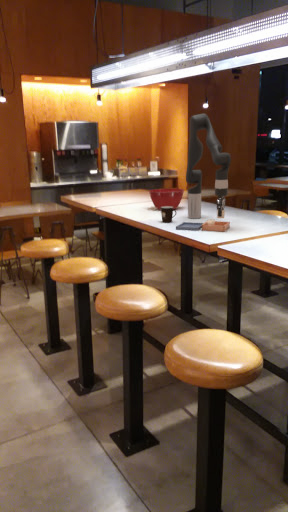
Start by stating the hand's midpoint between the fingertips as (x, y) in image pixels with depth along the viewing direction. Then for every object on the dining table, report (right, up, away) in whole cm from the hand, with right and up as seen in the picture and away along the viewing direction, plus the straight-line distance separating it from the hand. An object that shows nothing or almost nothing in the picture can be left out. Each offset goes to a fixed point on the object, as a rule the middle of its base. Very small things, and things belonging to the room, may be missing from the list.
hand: (220, 215), depth 254 cm
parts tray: (-17, -7, +10) cm, 21 cm away
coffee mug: (-30, -2, +30) cm, 42 cm away
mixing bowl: (-28, +13, +87) cm, 92 cm away
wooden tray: (-2, -8, +3) cm, 9 cm away
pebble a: (-5, -7, +4) cm, 10 cm away
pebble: (0, -1, 0) cm, 1 cm away
